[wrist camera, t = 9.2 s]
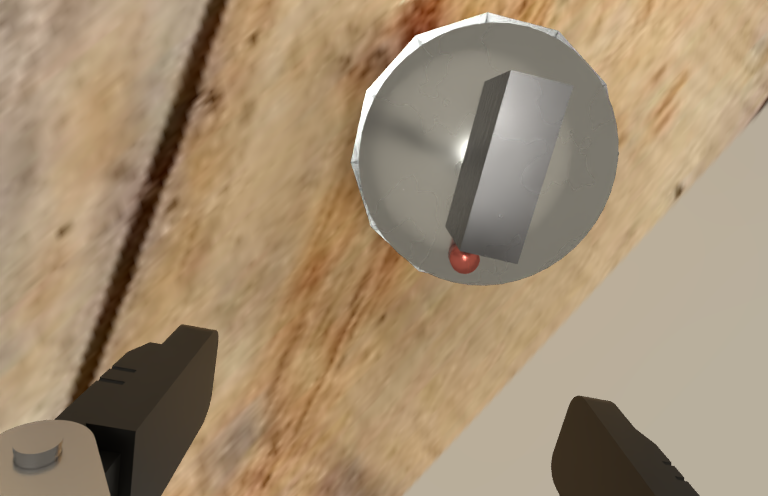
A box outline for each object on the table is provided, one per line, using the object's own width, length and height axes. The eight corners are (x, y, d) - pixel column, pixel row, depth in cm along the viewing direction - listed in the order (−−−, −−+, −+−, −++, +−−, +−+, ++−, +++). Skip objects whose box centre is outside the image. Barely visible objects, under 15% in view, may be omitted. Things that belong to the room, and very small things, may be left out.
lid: (392, -2, 23) (395, -47, 17) (643, 63, 23) (730, 42, 17) (337, 249, 25) (323, 286, 20) (561, 300, 26) (612, 350, 20)
